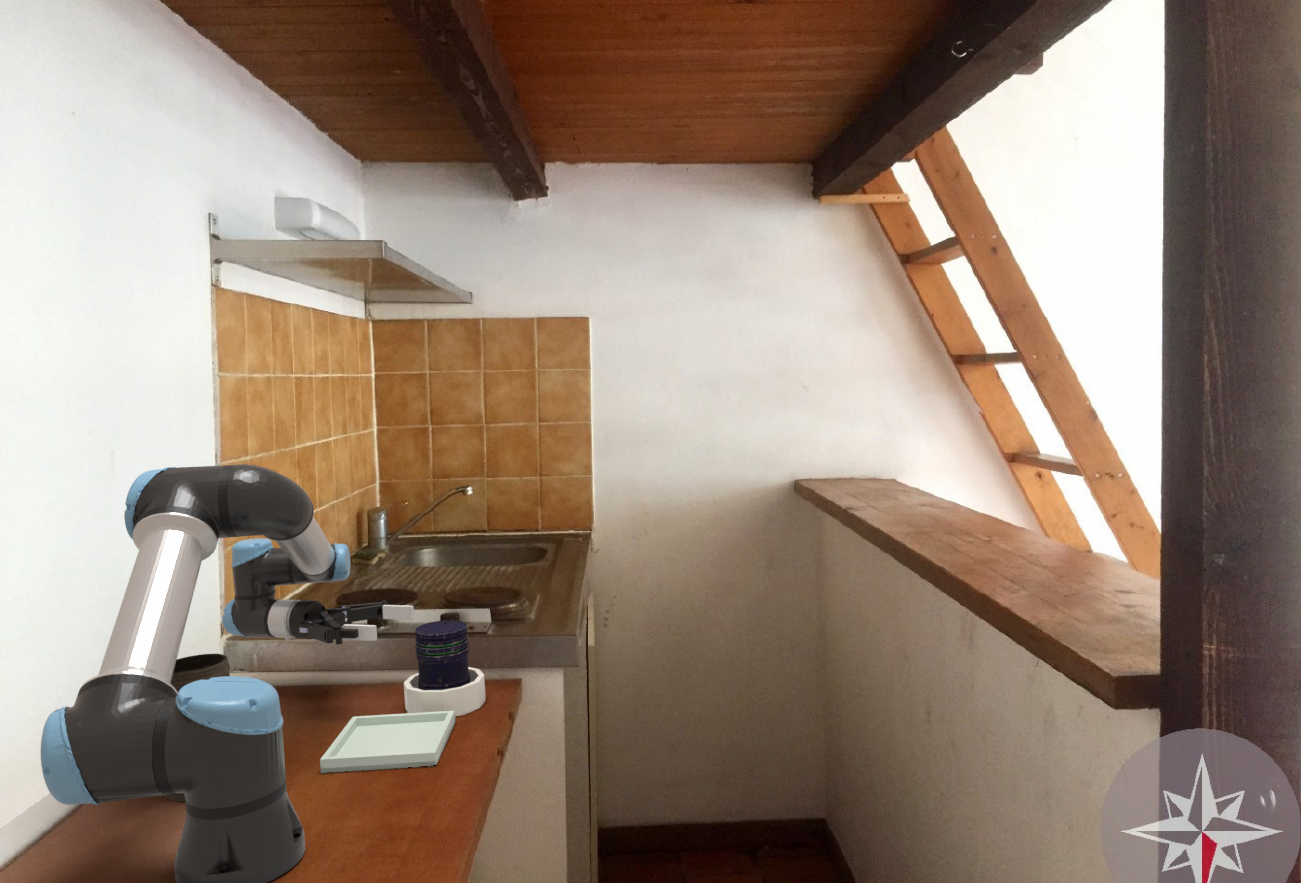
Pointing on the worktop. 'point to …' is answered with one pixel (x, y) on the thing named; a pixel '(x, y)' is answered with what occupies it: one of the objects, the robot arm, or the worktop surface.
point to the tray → (389, 742)
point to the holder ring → (446, 696)
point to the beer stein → (194, 671)
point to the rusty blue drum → (442, 655)
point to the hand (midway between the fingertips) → (395, 622)
